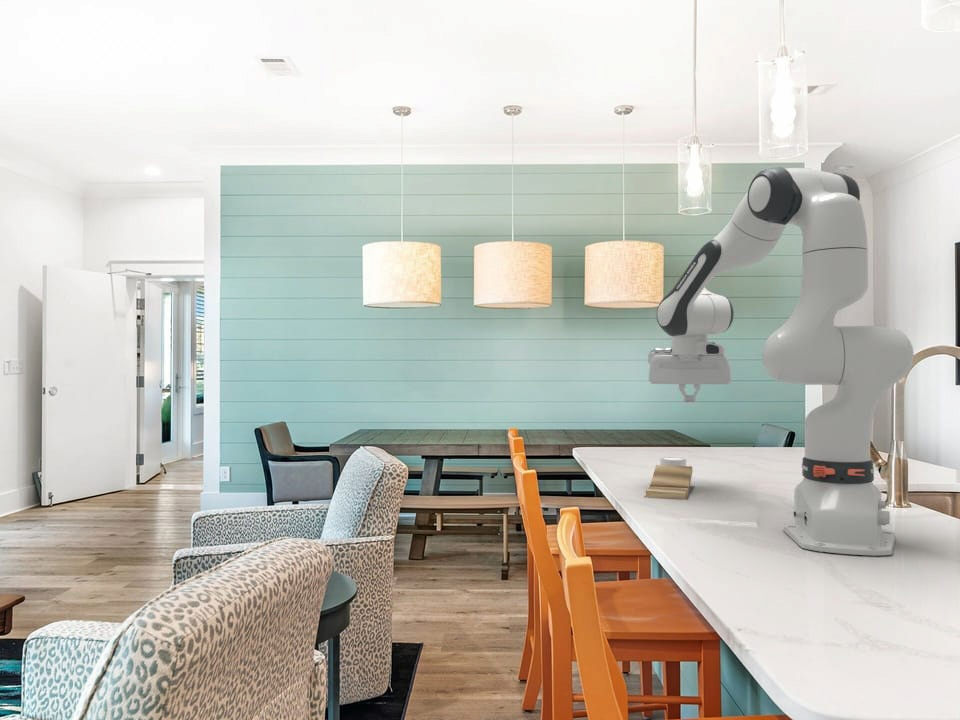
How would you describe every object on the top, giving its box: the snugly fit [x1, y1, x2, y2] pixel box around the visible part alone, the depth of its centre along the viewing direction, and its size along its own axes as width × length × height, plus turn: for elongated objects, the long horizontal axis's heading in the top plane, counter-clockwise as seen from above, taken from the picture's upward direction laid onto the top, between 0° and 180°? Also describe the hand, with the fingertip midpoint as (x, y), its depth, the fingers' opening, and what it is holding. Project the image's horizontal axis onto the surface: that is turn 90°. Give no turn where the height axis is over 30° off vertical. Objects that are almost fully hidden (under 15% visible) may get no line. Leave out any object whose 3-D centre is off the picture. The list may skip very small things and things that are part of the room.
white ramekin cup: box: [659, 456, 687, 466], centre depth 193 cm, size 7×7×7 cm
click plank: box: [649, 464, 693, 494], centre depth 181 cm, size 12×9×2 cm
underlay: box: [643, 485, 696, 501], centre depth 178 cm, size 20×10×1 cm, turn 159°
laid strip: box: [645, 484, 688, 501], centre depth 172 cm, size 7×9×2 cm
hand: (689, 402), depth 185 cm, fingers closed
